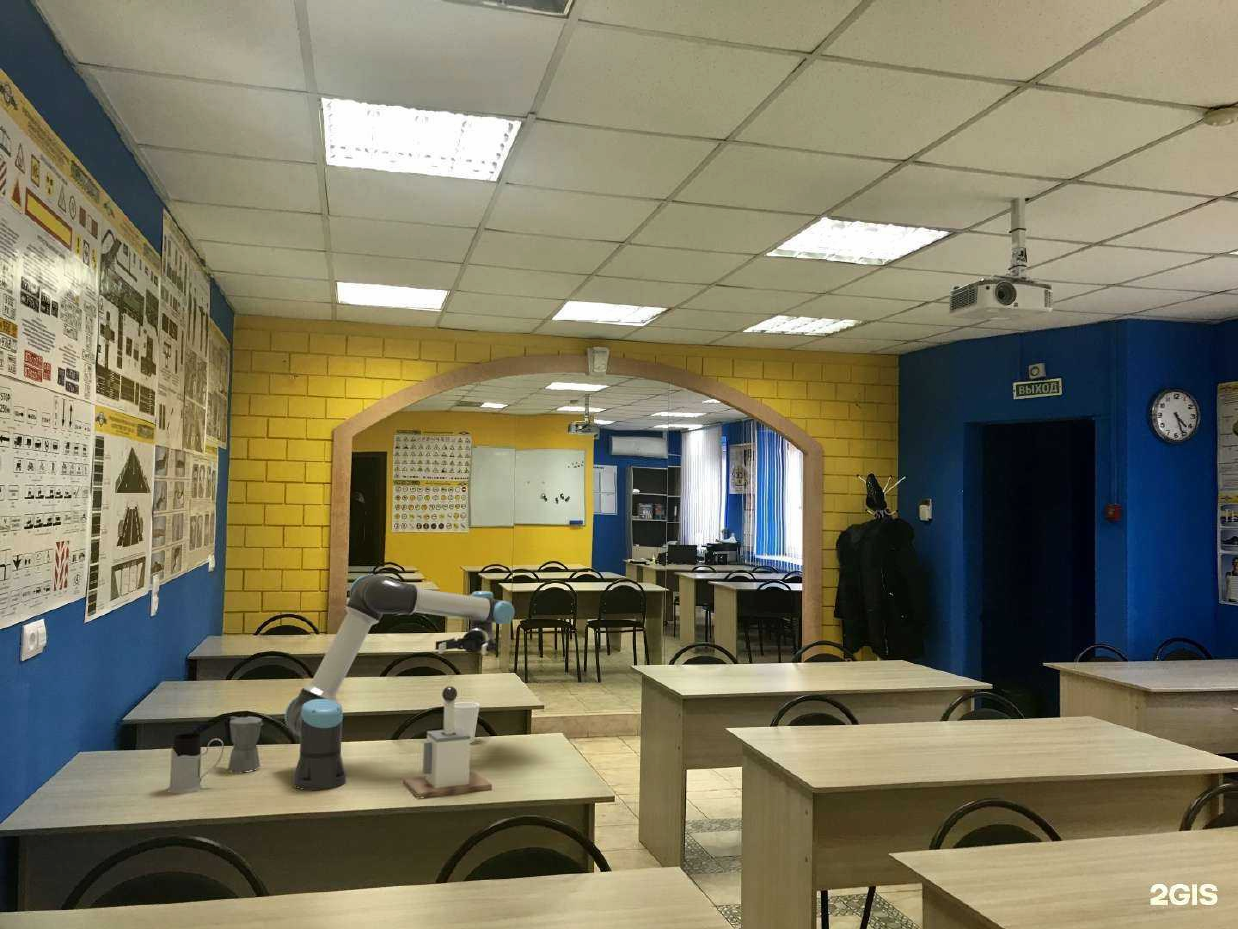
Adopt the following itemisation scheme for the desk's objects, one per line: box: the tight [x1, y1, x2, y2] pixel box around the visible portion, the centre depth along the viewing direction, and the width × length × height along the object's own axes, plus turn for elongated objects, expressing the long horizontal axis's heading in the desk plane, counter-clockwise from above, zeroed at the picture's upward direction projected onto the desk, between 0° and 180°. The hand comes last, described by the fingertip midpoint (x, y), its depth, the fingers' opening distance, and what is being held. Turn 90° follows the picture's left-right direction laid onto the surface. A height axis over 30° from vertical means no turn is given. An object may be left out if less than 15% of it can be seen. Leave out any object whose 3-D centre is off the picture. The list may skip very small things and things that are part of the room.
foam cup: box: [454, 701, 480, 744], centre depth 325 cm, size 10×9×13 cm
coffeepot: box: [223, 710, 264, 773], centre depth 286 cm, size 15×9×18 cm, turn 67°
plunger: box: [441, 686, 458, 736], centre depth 272 cm, size 7×7×26 cm
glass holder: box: [167, 732, 225, 795], centre depth 266 cm, size 9×14×15 cm, turn 111°
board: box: [402, 770, 493, 799], centre depth 272 cm, size 22×16×2 cm
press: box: [422, 728, 471, 788], centre depth 271 cm, size 12×10×14 cm
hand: (461, 649), depth 288 cm, fingers open, 13 cm apart
